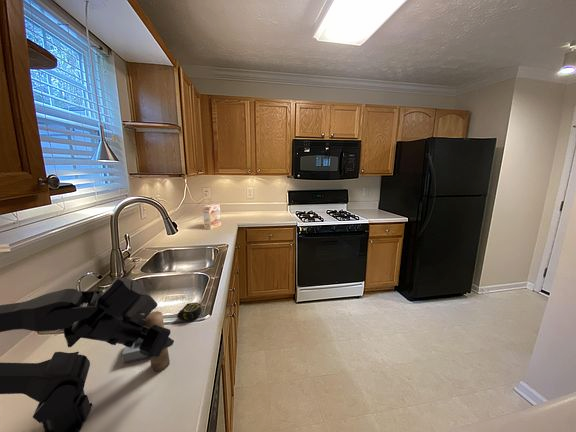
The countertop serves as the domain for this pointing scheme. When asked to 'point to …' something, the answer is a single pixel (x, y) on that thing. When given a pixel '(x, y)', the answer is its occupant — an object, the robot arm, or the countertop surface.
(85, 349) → the countertop surface
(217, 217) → the coffeecake box
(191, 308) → the tape measure
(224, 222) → the countertop surface
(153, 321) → the peg
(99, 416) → the countertop surface
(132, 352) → the pocket block
